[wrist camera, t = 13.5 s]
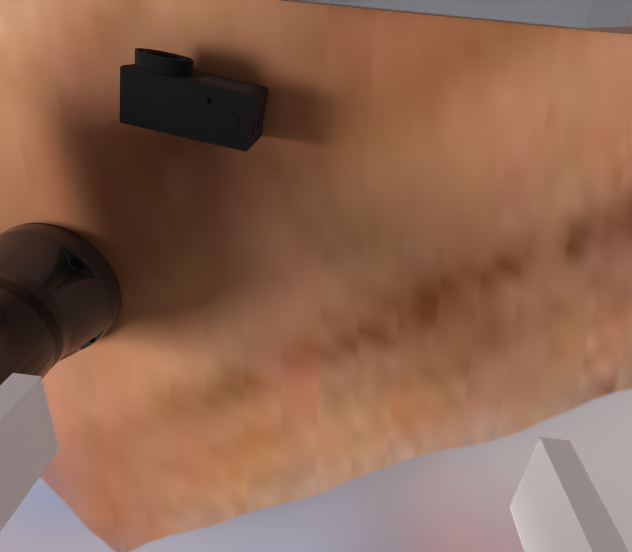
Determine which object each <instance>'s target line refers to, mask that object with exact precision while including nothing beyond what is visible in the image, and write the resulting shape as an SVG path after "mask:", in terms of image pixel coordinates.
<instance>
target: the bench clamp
mask: <svg viewBox="0 0 632 552" xmlns="http://www.w3.org/2000/svg"><path fill="white" fill-rule="evenodd" d="M285 1H295V2H305V3H316V4H326V5H336V6H346V7H356V8H367V9H377V10H387V11H397V12H407V13H418V14H428V15H438V16H448V17H458V18H469V19H479V20H489V21H499V22H509V23H520V24H530V25H540V26H550V27H560V28H571V29H581V30H591V31H601V32H611V33H622V34H632V0H285Z"/></svg>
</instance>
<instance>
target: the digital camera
mask: <svg viewBox="0 0 632 552" xmlns="http://www.w3.org/2000/svg"><path fill="white" fill-rule="evenodd" d="M193 63H194V60H192V59H190V58H187V57H184V56H181V55H177V54H173V53H168V52H163V51H158V50H151V49H143V48H136V49H135V64H131V65H123V66H121V67H120V122H121V123H125V124H129V125H133V126H138V127H142V128H146V129H150V130H155V131H159V132H163V133H168V134H172V135H176V136H181V137H185V138H189V139H194V140H198V141H202V142H207V143H211V144H215V145H220V146H224V147H228V148H233V149H237V150H242V151H247V150H248V149H249V148H250V147H251V146H252V145H253V144H254V143H255V142H256V141H257V140H258V139H259V138H260V137H261V134H262V128H263V121H264V114H265V108H266V101H267V95H268V88H267V87H263V86H258V85H254V84H250V83H246V82H241V81H237V80H233V79H229V78H224V77H220V76H216V75H212V74H208V73H203V72H199V71H195V70H193ZM265 92H266V93H265ZM261 108H262V109H261ZM262 110H263V111H262Z"/></svg>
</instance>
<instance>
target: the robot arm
mask: <svg viewBox="0 0 632 552" xmlns="http://www.w3.org/2000/svg"><path fill="white" fill-rule="evenodd" d="M119 310H120V290H119V286H118V283H117V280H116V277H115V275H114V273H113V271H112V270H111V268H110V266H109V265H108V263H107V262H106V261H105V259H104V258H103V257H102V256H101V255H100V254H99V253H98V252H97V250H95V249H94V248H93V247H92V246H91V245H90V244H88V243H87V242H86V241H84V240H83V239H81V238H80V237H78V236H76V235H75V234H73V233H71V232H69V231H66V230H64V229H61V228H58V227H55V226H51V225H46V224H23V225H19V226H15V227H13V228H10V229H8V230H7V231H5V232H3V233H1V234H0V531H1V530H2V528H3V527H4V526H5V524H6V523H7V521H8V520H9V519H10V517H11V516H12V514H13V513H14V512H15V510H16V509H17V508H18V506H19V505H20V503H21V502H22V501H23V499H24V498H25V496H26V495H27V494H28V492H29V491H30V489H31V488H32V486H33V485H34V484H35V482H36V481H37V480H38V478H39V477H40V476H41V474H42V473H43V471H44V470H45V469H46V467H47V466H48V464H49V463H50V462H51V460H52V459H53V458H54V456H55V455H56V453H57V452H58V451H59V448H58V443H57V439H56V435H55V431H54V427H53V423H52V419H51V415H50V410H49V406H48V402H47V398H46V394H45V390H44V386H43V382H42V378H43V377H44V376H45V375H46V374H47V373H48V371H49V370H50V369H51V368H52V367H53V366H54V365H55V364H56V363H57V362H58V361H60V360H62V359H64V358H66V357H68V356H70V355H72V354H74V353H76V352H78V351H79V350H82V349H84V348H86V347H88V346H90V345H92V344H94V343H95V342H97V341H98V340H99V339H100V338H101V337H102V336H103V335H104V334H105V333H106V332H107V331H108V329H109V328H110V327H111V326H112V325H113V323H114V322H115V320H116V318H117V316H118V313H119ZM510 510H511V513H512V516H513V519H514V522H515V525H516V528H517V531H518V534H519V537H520V540H521V543H522V546H523V550H524V552H629V551H628V549H627V548H626V546H625V544H624V542H623V540H622V538H621V536H620V534H619V532H618V531H617V529H616V527H615V525H614V523H613V521H612V519H611V517H610V516H609V514H608V512H607V510H606V508H605V506H604V504H603V502H602V501H601V499H600V497H599V495H598V493H597V491H596V489H595V487H594V485H593V484H592V482H591V480H590V478H589V476H588V474H587V472H586V470H585V468H584V467H583V465H582V463H581V461H580V459H579V457H578V456H577V454H576V452H575V450H574V448H573V446H572V444H571V442H570V441H567V440H559V439H551V438H543V437H540V438H539V440H538V443H537V445H536V447H535V449H534V452H533V454H532V456H531V458H530V461H529V463H528V465H527V468H526V470H525V472H524V474H523V477H522V479H521V481H520V484H519V486H518V488H517V491H516V493H515V495H514V498H513V500H512V502H511V505H510Z"/></svg>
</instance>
